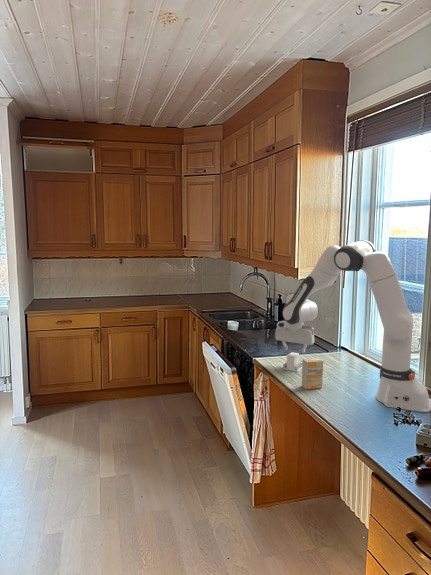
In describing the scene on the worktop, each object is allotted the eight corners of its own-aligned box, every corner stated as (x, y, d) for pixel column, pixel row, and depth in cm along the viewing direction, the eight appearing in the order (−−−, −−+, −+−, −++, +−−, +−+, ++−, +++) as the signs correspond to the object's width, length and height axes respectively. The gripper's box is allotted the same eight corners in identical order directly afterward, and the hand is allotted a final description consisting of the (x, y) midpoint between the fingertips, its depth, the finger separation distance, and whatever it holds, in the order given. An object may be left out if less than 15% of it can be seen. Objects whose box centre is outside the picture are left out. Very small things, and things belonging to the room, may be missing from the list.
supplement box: (306, 390, 200) (306, 362, 199) (301, 386, 205) (302, 358, 203) (322, 388, 203) (323, 360, 201) (317, 384, 207) (318, 357, 205)
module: (298, 366, 231) (299, 353, 230) (294, 369, 226) (294, 356, 225) (291, 365, 233) (292, 352, 232) (286, 368, 228) (287, 355, 227)
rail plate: (303, 368, 230) (303, 363, 230) (297, 372, 224) (297, 367, 224) (288, 365, 235) (288, 360, 234) (282, 368, 229) (282, 364, 228)
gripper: (316, 325, 223) (316, 352, 225) (279, 320, 234) (279, 346, 236) (311, 327, 218) (311, 355, 220) (273, 323, 229) (273, 349, 231)
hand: (294, 350), depth 228 cm, fingers open, 8 cm apart
